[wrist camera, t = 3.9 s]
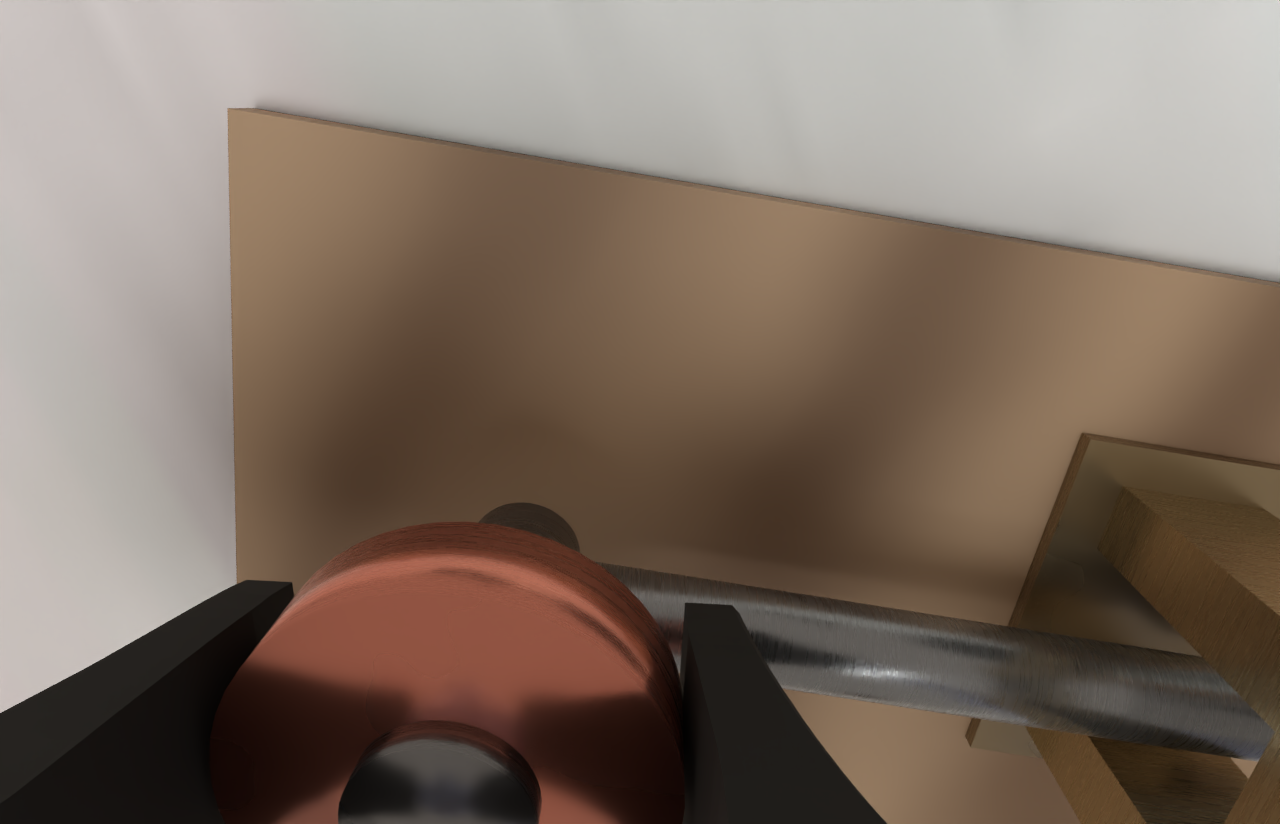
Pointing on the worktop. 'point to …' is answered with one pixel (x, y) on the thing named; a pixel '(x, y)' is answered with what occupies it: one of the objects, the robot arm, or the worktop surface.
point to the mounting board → (706, 392)
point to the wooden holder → (1159, 620)
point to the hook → (612, 682)
